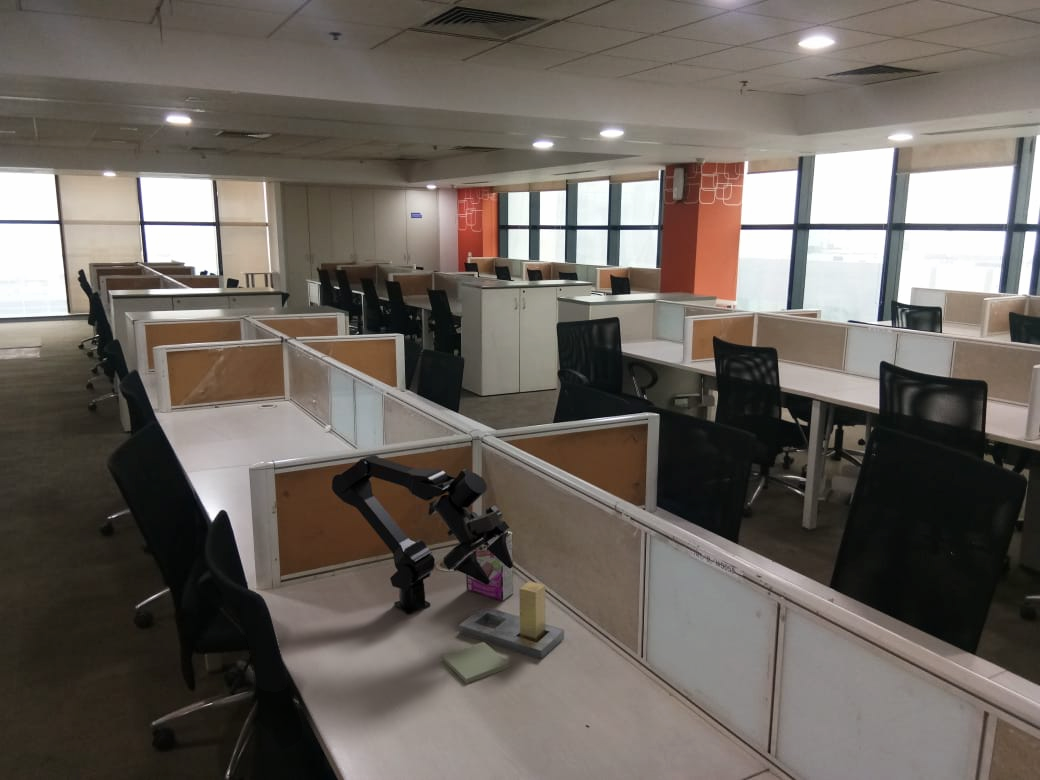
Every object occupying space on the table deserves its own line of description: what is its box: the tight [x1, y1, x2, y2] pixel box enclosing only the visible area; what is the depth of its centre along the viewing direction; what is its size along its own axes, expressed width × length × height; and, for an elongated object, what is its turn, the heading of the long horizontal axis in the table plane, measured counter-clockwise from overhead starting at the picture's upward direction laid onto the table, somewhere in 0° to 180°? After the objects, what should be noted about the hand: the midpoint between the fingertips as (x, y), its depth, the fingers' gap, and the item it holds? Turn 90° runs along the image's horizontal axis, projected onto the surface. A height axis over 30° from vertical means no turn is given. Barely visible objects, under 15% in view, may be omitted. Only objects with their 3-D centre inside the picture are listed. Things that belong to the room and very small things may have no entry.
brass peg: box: [519, 580, 546, 643], centre depth 166 cm, size 4×4×13 cm
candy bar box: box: [465, 530, 514, 602], centre depth 189 cm, size 11×5×16 cm, turn 58°
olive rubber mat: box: [442, 641, 510, 684], centre depth 159 cm, size 10×10×1 cm
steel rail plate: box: [458, 606, 565, 660], centre depth 170 cm, size 21×10×2 cm, turn 59°
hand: (500, 575), depth 169 cm, fingers open, 9 cm apart
